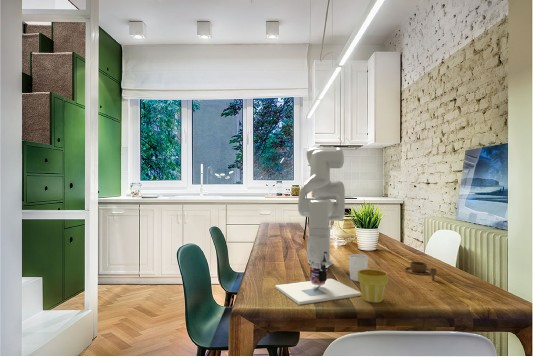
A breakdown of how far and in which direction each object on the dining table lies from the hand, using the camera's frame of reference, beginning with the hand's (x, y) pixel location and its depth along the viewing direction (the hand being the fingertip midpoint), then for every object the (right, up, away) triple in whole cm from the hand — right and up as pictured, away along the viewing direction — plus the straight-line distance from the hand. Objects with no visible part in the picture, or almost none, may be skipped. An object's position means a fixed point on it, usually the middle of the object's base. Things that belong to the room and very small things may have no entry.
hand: (318, 278), depth 137 cm
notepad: (-1, -4, -2) cm, 5 cm away
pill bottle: (0, -2, 0) cm, 2 cm away
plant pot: (+18, -5, -11) cm, 21 cm away
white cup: (+19, -5, +15) cm, 25 cm away
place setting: (+49, -6, +23) cm, 54 cm away
